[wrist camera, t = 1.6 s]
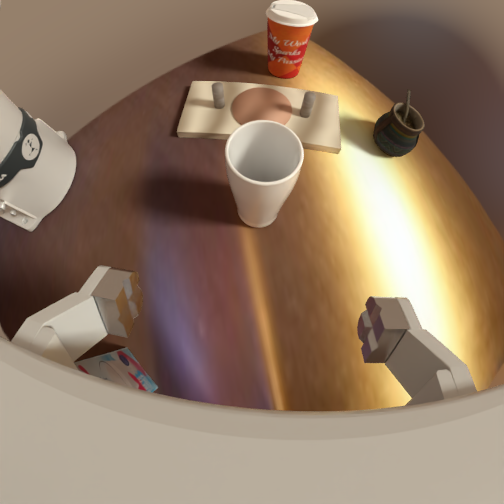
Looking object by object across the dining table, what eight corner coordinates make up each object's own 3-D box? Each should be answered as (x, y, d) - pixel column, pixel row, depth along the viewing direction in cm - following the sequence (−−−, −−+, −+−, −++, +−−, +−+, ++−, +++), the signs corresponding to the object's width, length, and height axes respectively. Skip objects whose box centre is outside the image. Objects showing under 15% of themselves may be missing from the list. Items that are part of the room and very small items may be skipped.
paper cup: (259, 79, 42) (263, 15, 28) (264, 54, 43) (268, -4, 30) (304, 85, 42) (320, 24, 28) (305, 60, 43) (318, 3, 30)
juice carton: (126, 347, 33) (8, 377, 12) (158, 387, 32) (66, 462, 11) (97, 372, 32) (-18, 411, 11) (126, 410, 31) (30, 482, 10)
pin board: (178, 137, 39) (169, 113, 33) (193, 86, 41) (188, 62, 35) (338, 154, 39) (350, 132, 33) (335, 101, 41) (344, 78, 35)
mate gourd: (375, 161, 39) (403, 125, 29) (363, 123, 41) (384, 84, 31) (411, 163, 39) (442, 132, 30) (398, 126, 41) (423, 92, 31)
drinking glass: (223, 198, 37) (210, 135, 23) (268, 178, 38) (280, 109, 23) (246, 243, 36) (245, 199, 21) (292, 220, 37) (319, 167, 22)
